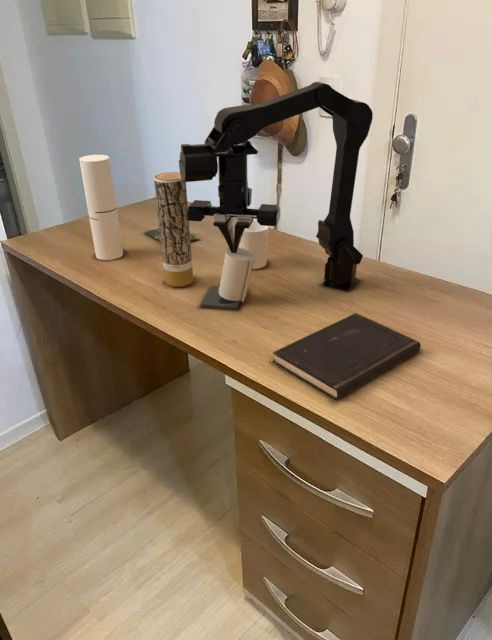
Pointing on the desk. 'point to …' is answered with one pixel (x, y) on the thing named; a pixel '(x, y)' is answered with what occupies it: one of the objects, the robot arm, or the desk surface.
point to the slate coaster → (218, 300)
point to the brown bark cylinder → (174, 228)
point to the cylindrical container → (101, 206)
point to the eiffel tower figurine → (157, 234)
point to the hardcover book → (345, 354)
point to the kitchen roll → (236, 274)
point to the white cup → (256, 243)
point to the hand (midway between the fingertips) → (234, 252)
